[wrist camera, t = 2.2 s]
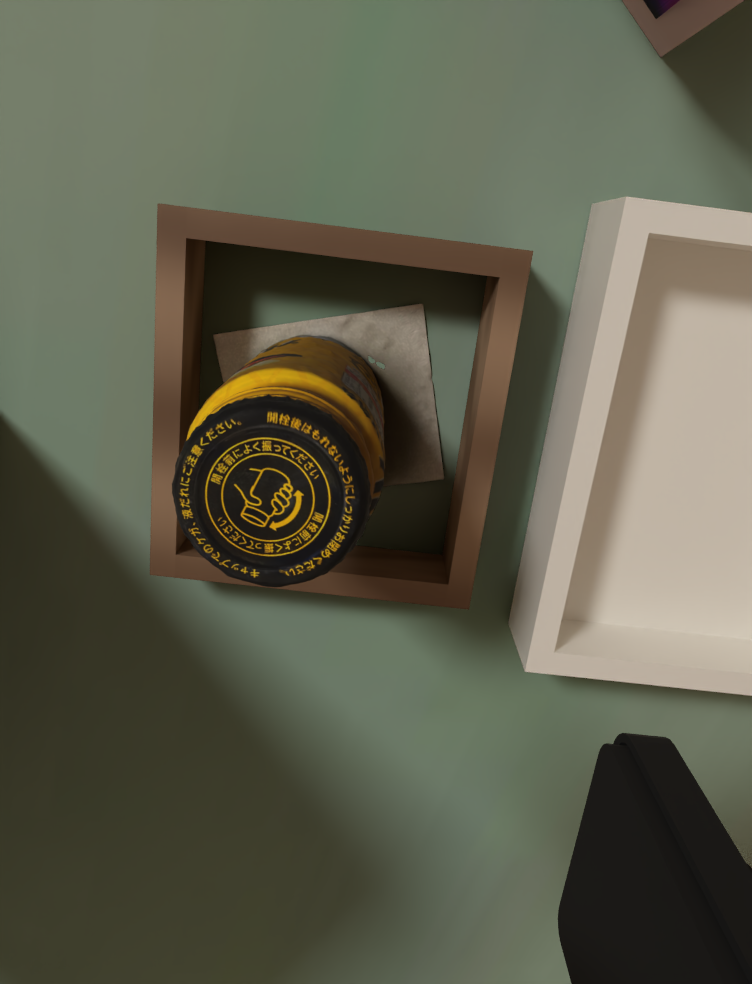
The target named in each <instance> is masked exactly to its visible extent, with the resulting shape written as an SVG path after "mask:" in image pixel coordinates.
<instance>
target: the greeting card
mask: <svg viewBox="0 0 752 984" xmlns="http://www.w3.org/2000/svg"><path fill="white" fill-rule="evenodd" d="M622 1H623V3H624V4H625V6H626V7H627V8H628V10H629V11H630V13H631V14H632V16H633V17H634V19H635V20H636V22H637V23H638V25H639V26H640V28H641V29H642V31H643V32H644V34H645V35H646V37H647V38H648V39H649V41H650V42H651V44H652V45H653V47H654V48H655V50H656V51H657V53H658V54H659V56H660V57H662V56H663V55H665V54H666V53H668V52H669V51H671V50H672V49H674V48H675V47H677V46H678V45H679V44H681V43H682V42H684V41H685V40H687V39H688V38H690V37H691V36H693V35H694V34H696V33H697V32H699V31H700V30H702V29H703V28H704V27H706V26H707V25H709V24H710V23H712V22H713V21H715V20H716V19H718V18H719V17H721V16H722V15H724V14H725V13H727V12H728V11H729V10H731V9H732V8H734V7H735V6H737V5H738V4H740V3H741V2H743V1H744V0H622Z"/></svg>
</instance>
